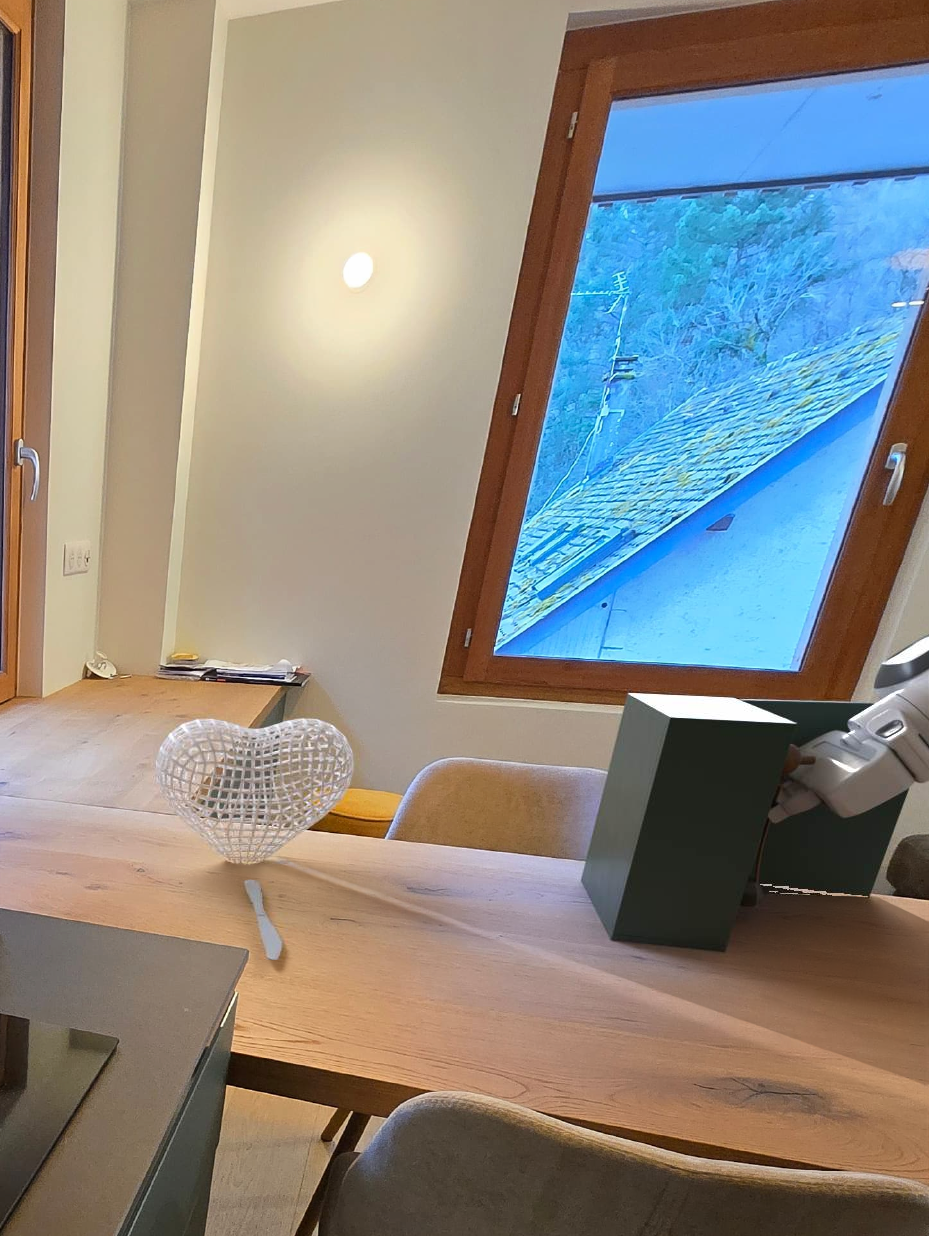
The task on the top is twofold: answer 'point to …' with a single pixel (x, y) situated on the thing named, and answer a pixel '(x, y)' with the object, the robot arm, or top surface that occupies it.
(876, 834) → the cupboard door
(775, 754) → the cupboard
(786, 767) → the wooden tabletop sculpture
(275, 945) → the butter knife
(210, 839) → the heart
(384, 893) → the top surface
